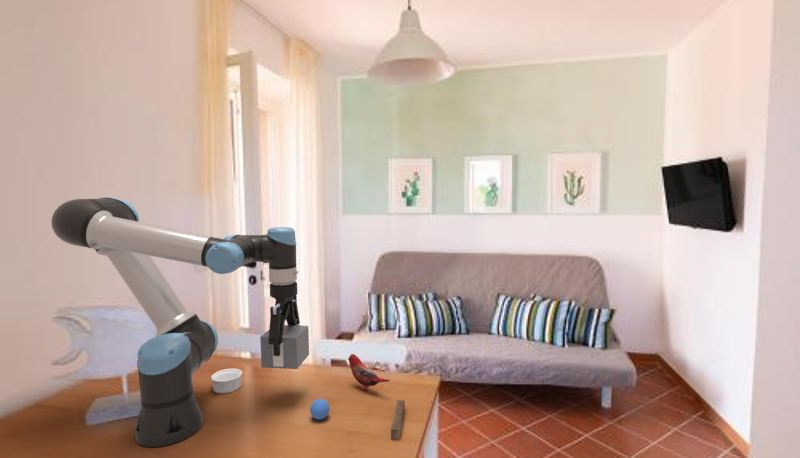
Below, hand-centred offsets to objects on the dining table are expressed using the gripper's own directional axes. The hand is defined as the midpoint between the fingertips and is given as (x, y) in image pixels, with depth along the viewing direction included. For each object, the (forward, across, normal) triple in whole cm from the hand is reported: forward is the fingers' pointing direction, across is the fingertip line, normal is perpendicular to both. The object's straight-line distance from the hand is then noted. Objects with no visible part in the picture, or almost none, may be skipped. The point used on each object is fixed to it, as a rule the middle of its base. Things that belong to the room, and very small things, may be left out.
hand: (286, 358), depth 120 cm
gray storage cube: (+1, 0, 0) cm, 1 cm away
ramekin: (+13, +6, +22) cm, 26 cm away
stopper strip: (+12, -10, -33) cm, 37 cm away
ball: (+10, -9, -12) cm, 18 cm away
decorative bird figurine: (+12, +6, -23) cm, 27 cm away
